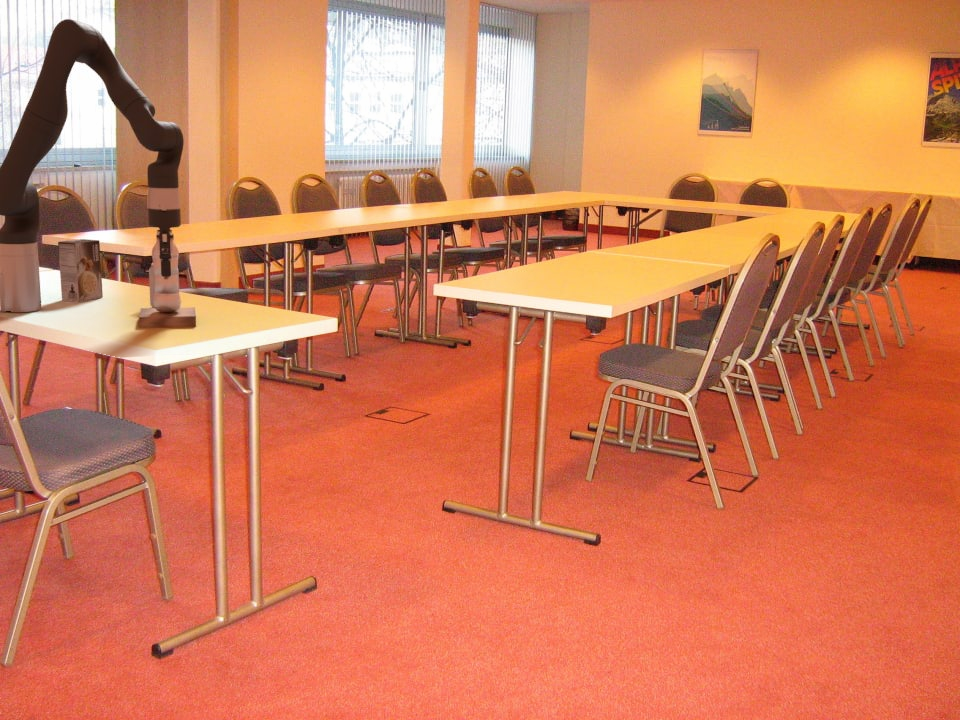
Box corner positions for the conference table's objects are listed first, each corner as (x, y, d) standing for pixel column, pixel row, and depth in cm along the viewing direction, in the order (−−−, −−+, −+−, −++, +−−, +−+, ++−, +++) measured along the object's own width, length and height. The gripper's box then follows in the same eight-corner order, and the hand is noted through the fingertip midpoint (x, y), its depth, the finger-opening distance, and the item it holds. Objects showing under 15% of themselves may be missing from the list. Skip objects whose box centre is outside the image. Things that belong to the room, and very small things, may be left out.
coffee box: (85, 296, 280) (82, 238, 277) (103, 297, 278) (100, 240, 275) (60, 300, 272) (57, 241, 269) (79, 302, 270) (75, 242, 266)
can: (171, 310, 261) (169, 265, 259) (144, 309, 263) (143, 263, 260) (184, 306, 268) (183, 262, 266) (159, 304, 270) (157, 260, 267)
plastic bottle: (155, 315, 240) (151, 231, 236) (152, 310, 246) (148, 229, 242) (183, 313, 243) (180, 231, 239) (179, 309, 249) (176, 228, 245)
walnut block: (139, 327, 237) (138, 317, 237) (141, 318, 249) (140, 308, 249) (196, 326, 241) (195, 316, 240) (195, 317, 253) (195, 307, 253)
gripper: (148, 204, 245) (150, 270, 248) (146, 208, 231) (149, 278, 235) (180, 205, 247) (182, 270, 250) (180, 209, 234) (182, 278, 237)
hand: (166, 274), depth 243 cm, fingers open, 8 cm apart
